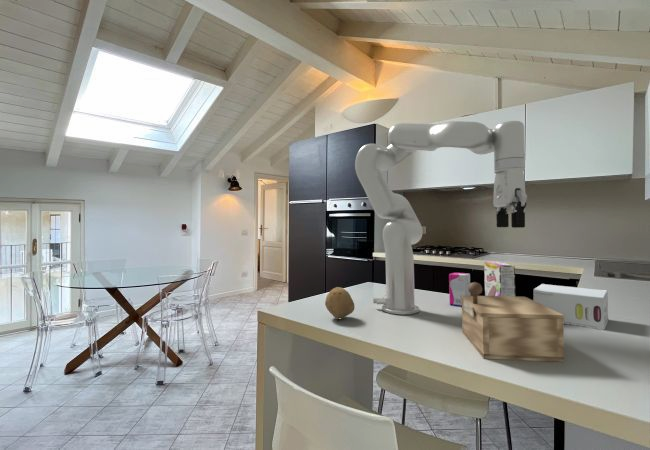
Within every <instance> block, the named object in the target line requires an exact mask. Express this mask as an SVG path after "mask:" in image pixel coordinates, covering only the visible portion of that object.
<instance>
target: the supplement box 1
mask: <svg viewBox="0 0 650 450" xmlns="http://www.w3.org/2000/svg"><path fill="white" fill-rule="evenodd" d="M448 283H449V285H448V287H449V288H448V289H449V293H448V294H449V306H454V307H460V308H462V300H461V299H460V296H472V294H470V293H469V291H468V286H469V284H470V283H471V274H470V273H465V272H452V273H449V274H448Z"/></svg>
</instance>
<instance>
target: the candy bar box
mask: <svg viewBox="0 0 650 450" xmlns="http://www.w3.org/2000/svg"><path fill="white" fill-rule="evenodd" d="M483 268H484V269H483V270H484V271H483V272H484V296H516V278H515V277H516V275H515V274H516V271H515V270H516V269H515V268H516V267H515V265H513V264H509V263H505V262H501V261H483Z"/></svg>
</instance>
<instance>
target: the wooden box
mask: <svg viewBox="0 0 650 450" xmlns="http://www.w3.org/2000/svg"><path fill="white" fill-rule="evenodd" d="M461 320H462V321H461V322H462V323H461V324H462V325H461V327H462V328H461V329H462V332H461V333H462V334H463V335H464V336H465V337H466V339H467V340H468V341H469V342H470V344H471V345H472V347H474V348H475V350H476V351H477V352H478V353H479V355H480V356H481V357H482V358H483V359H490V360H491V359H492V360H508V361H509V360H510V361H511V360H512V361H513V360H514V361H530V362H531V361H536V362H558V363H559V362H560V363H562V362H563V363H565V340H564V339H565V335H564V332H565V331H564V330H565V329H564V323H563V319H545V318H505V317H481V316H479V315H478V314H477V313H476V312H475V311H474V318H473V317H471V316H470V315H469V314H468V313H467V312H466V311H465V310H464V302H463V301H462V307H461Z"/></svg>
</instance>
